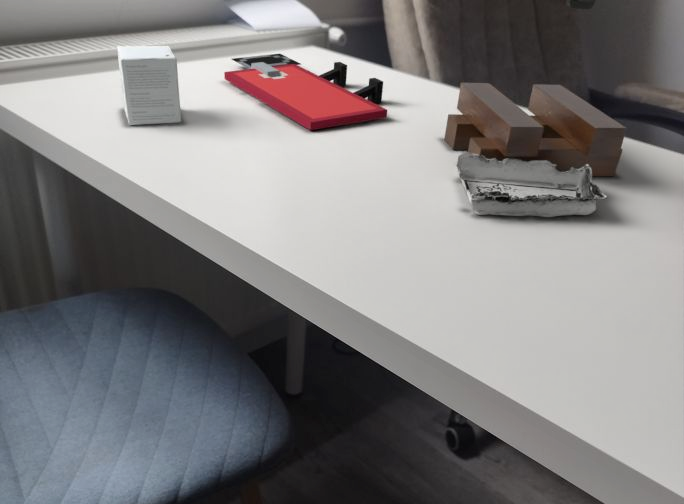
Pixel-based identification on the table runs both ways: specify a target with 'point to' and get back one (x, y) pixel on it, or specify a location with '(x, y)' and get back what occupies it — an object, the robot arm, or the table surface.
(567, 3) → the robot arm
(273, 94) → the red board with handle
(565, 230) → the table surface
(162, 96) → the product box
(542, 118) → the stacked wooden blocks
